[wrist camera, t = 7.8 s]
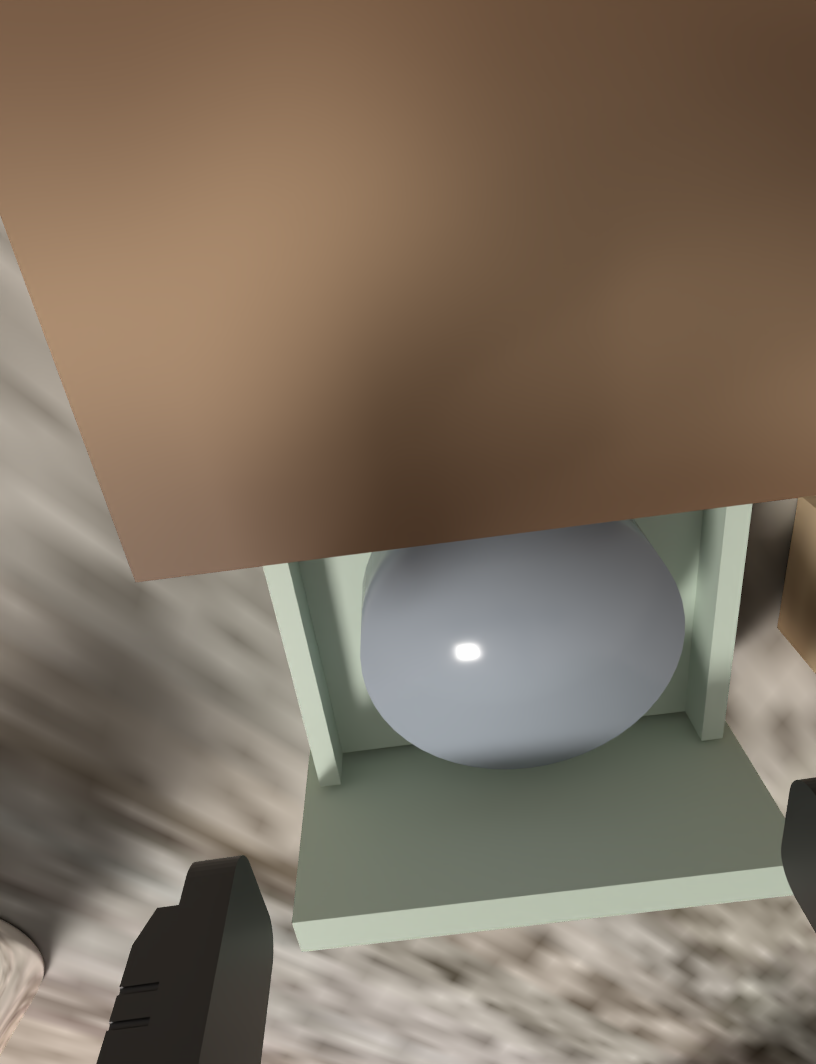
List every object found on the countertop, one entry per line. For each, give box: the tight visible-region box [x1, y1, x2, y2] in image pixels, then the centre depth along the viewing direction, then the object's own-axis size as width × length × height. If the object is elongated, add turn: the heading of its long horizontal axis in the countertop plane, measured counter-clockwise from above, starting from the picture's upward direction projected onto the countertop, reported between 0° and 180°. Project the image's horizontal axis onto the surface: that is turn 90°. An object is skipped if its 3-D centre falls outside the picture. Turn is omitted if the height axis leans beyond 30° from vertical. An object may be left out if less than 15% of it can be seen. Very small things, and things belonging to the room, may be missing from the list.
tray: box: [263, 504, 794, 952], centre depth 14 cm, size 12×10×6 cm
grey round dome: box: [360, 519, 685, 769], centre depth 15 cm, size 6×6×2 cm
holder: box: [0, 0, 816, 582], centre depth 10 cm, size 12×12×6 cm
